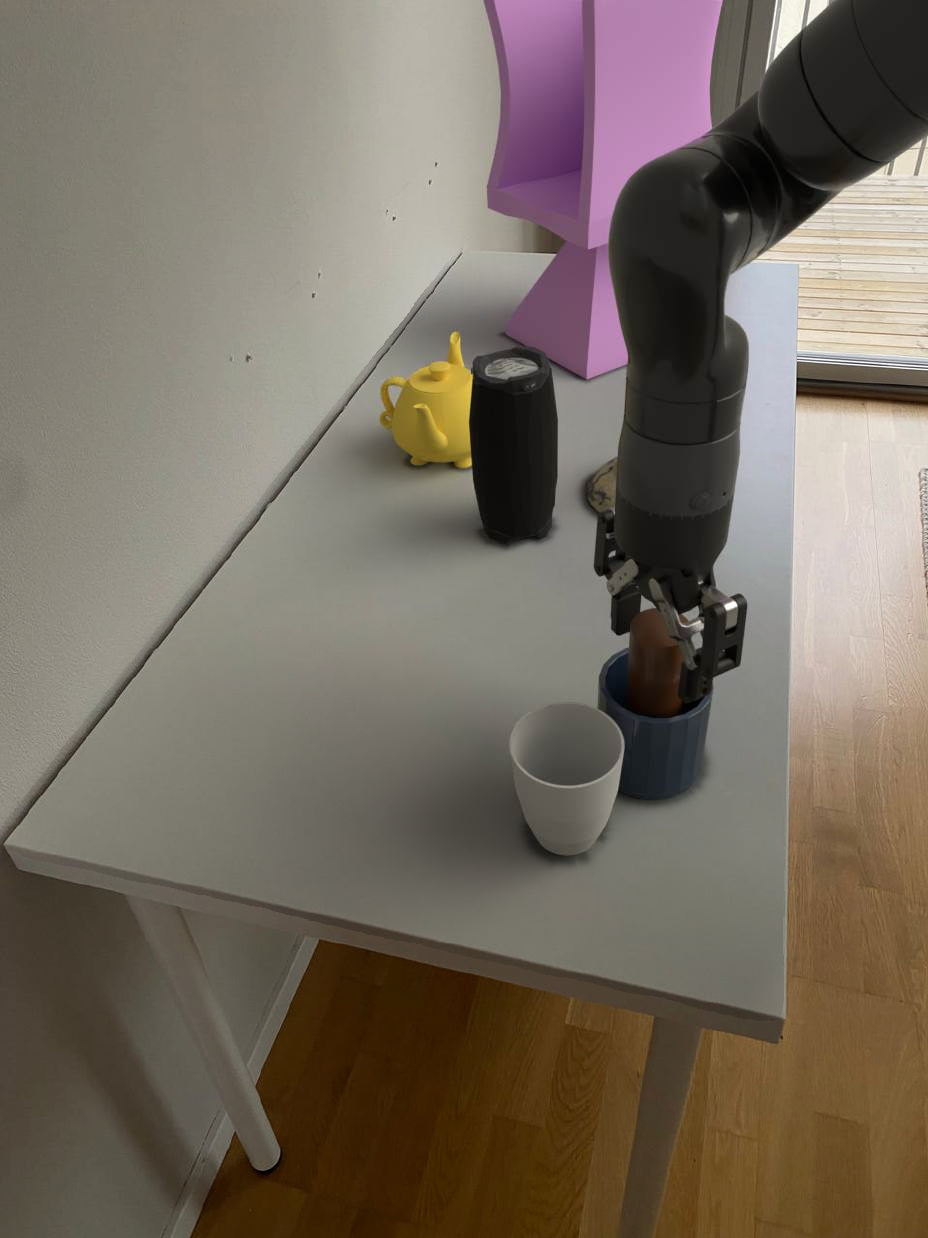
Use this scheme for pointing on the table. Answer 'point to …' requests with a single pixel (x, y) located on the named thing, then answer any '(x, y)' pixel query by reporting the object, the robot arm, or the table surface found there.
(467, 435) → the teapot
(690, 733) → the crock
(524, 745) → the cup
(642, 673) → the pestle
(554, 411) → the portable speaker
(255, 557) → the table surface
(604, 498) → the decorative bowl
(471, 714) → the table surface
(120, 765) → the table surface
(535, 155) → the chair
